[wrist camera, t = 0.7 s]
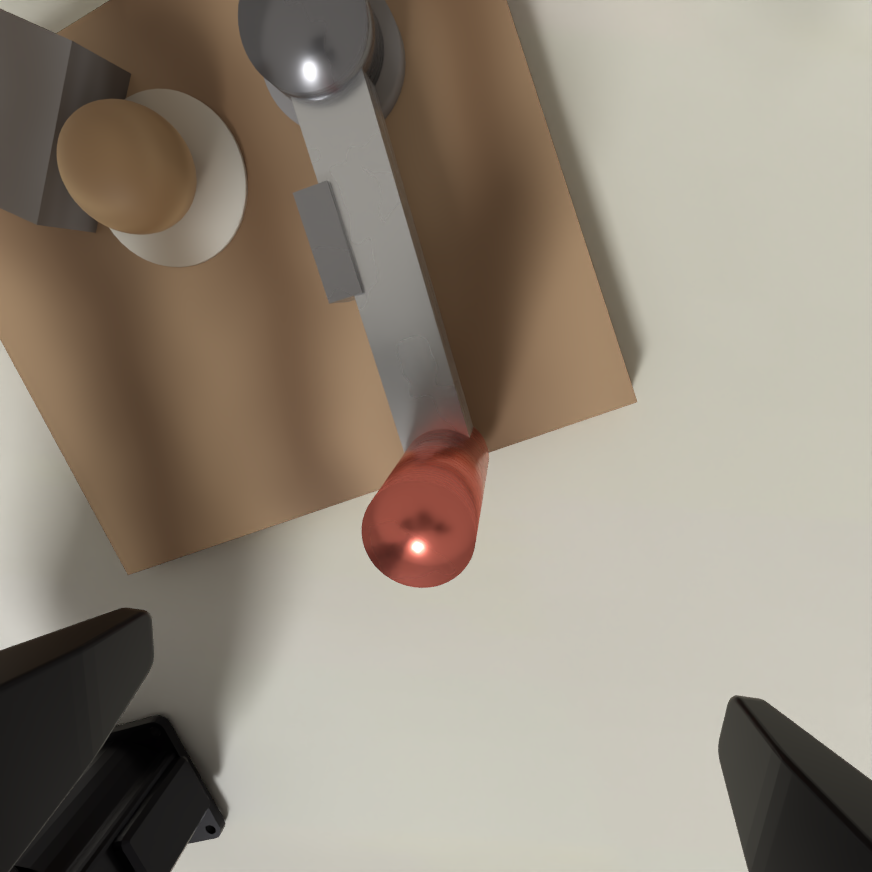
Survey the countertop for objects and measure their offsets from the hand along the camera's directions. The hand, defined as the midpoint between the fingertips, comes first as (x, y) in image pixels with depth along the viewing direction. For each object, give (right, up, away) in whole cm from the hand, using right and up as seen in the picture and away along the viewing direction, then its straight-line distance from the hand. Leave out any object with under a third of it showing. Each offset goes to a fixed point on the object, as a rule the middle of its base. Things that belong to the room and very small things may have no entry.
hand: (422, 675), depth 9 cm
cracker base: (-6, +10, +11) cm, 15 cm away
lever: (-1, +9, +8) cm, 12 cm away
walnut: (-9, +11, +7) cm, 16 cm away
